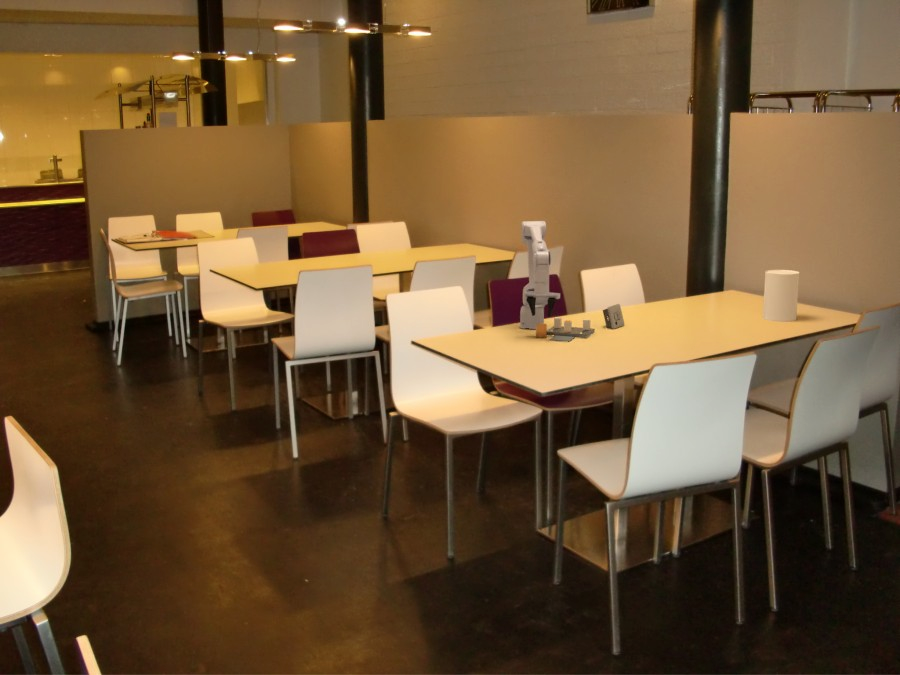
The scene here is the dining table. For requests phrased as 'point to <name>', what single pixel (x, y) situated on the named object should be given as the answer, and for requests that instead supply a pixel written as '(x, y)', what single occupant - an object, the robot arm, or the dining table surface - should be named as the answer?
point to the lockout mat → (562, 338)
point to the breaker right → (586, 324)
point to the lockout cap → (541, 330)
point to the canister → (780, 295)
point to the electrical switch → (613, 316)
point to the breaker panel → (574, 333)
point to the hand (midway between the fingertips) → (541, 315)
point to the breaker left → (557, 322)
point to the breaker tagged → (568, 326)
